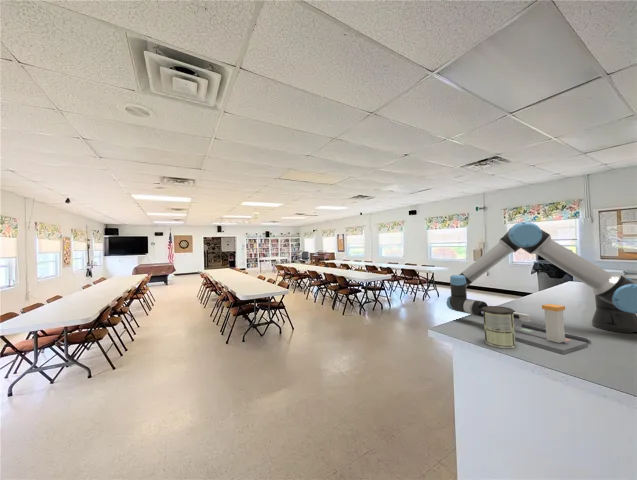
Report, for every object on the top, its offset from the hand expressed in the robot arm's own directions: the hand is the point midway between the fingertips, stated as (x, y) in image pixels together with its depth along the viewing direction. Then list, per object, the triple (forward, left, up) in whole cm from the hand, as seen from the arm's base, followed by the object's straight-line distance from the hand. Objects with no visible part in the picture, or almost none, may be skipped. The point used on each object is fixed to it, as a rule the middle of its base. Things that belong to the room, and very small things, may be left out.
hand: (529, 318), depth 108 cm
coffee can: (+14, +9, -9) cm, 19 cm away
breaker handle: (-6, +6, -7) cm, 11 cm away
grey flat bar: (-11, -6, -8) cm, 15 cm away
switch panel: (-1, +1, -8) cm, 8 cm away
